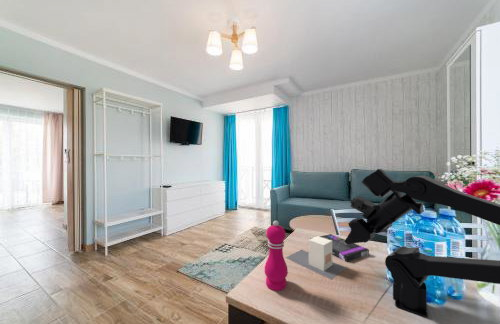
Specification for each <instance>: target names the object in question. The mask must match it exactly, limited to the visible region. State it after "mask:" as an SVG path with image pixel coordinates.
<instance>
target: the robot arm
mask: <svg viewBox="0 0 500 324" xmlns="http://www.w3.org/2000/svg"><path fill="white" fill-rule="evenodd" d="M361 184H362V185H363V186H364V187H365V188H367V190H369V192H370V193H371V194H373V195H374V196H375V197H376V198H379V197H381V198H382V199H384V198H385V199H384V200H383V201H382V202H379V203H378V204H375V203H374V202H372V201H370V200H368V199H366V198H364V197H362V196H359V195H358V196H354V197H353V198H352V200H351V201H350V207H351V209H355V210H356V211H358V212H360V213H362V217H363V218H362V217H355V218H353V219H351V221H349V222H348V223H347V225H348V227H349V228H350V231H349V233H348V235H347V237H346V238H345V239H344V240H345V243H346V244H353V243H354V244H359V243H360V244H361V243H362V244H363V243H368V242H369V241H371V240H372V239H374V238H375V237H376V234H380V233H383V232H384V231H387V230H389V229H390V228H391V227H392V226H393V224H394V223H396V222H397V221H398V220H400V218H403V216H405V215H407V214H408V213H409V212H410V211H412V210H413V211H414V212H415V213H416V214H417V215H421V214H422V213H424V212H425V210H424V204H425V202H426V203H430V204H436V205H441V206H446V207H450V208H451V209H456V210H457V211H460V212H463V213H466V214H468V215H471V216H473V217H474V216H475V217H476V218H479V219H482V220H485V221H487V222H490V223H491V224H492V223H493V224H495V225H499V226H500V204H499V203H497V202H494V201H491V200H487V199H483V198H481V197H478V196H475V195H472V194H469V193H465V192H463V191H459V190H457V189H455V188H452V187H451V186H449V185H448V184H445V183H443V182H441V181H439V180H436V179H435V178H432V177H431V176H427V175H417V176H416V175H415V176H411V177H408V178H407V179H406V180H394V179H393V178H392V177H391V176H389V175H388V174H387V173H386V172H385V171H384V169H382V168H378V169H376V170H375V171H373V172H371V173H370V174H369V175H366V176H365V177H364V178H363V180H362V181H361ZM417 200H418V201H417ZM419 201H422V202H419ZM384 264H385V267H386V269H387V270H388V271H389V273H390V275H391V277H392V280H393V281H392V299H393V300H394V306H395V307H397V308H400V309H401V310H405V311H407V312H411V313H414V314H416V315H419V316H422V317H425V318H429V313H428V307H427V306H428V301H427V300H428V299H427V296H428V294H427V293H428V290H427V285H426V280H427V279H428V278H429V276H434V277H441V278H442V277H443V278H449V279H457V280H465V281H472V282H473V281H474V282H481V283H488V284H497V285H500V260H498V259H497V260H496V259H495V260H494V259H482V258H481V259H480V258H469V257H468V258H465V257H453V256H452V257H451V256H450V257H449V256H438V255H437V256H435V255H427V254H425V253H421V251H420V247H418V246H415V247H413V246H412V247H407V246H403V245H402V246H400V247H399V248H397V249H395V250H393V251H392V252H391V253H389V255H387V256H386V257H385V261H384Z"/></svg>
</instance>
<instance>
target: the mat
mask: <svg viewBox="0 0 500 324" xmlns="http://www.w3.org/2000/svg"><path fill="white" fill-rule="evenodd" d="M285 259H287V260H289V261H291V262H293V263H296V264H298V265H300V266H302V267H303V268H306V269H308V270H310V271H312V272H315V273H317V274H319V275H321V276H324V278H325V277H326V278H328V279H329V280H333V279H334V278H335V277H337V276H338V275H339V274H341V273H342V272H343V271H344V270H345V269H347V266H345V265H341V264H339V263H337V262H334V261H332V266H330V267H329V268H328V269H326V270H325V271H322V270H320V269H318V268H316V267H314V266H311V265H309V251H306V250H304V249H300V250H298V251H296V252H294V253H292V254H290V255H287V256H285Z"/></svg>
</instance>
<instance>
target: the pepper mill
mask: <svg viewBox="0 0 500 324" xmlns="http://www.w3.org/2000/svg"><path fill="white" fill-rule="evenodd" d="M279 224H280V223H279V221H278V220H274V221H273V222H272V225H270V226H268V227H267V228H266V232H265V233H266V235H265V236H266V238H267V239H268V240H267V246H268V248H269V249H268V253H269V254H268V257H267V259H266V262H265V264H264V274H265V276H266V277H265V285H266V287H267V288H268V289H270V290H272V291H275V292H276V291H278V292H279V291H283V290H285V289H286V286H287V277H288V273H289V271H288V270H289V269H288V266H287V263H286V260H285V256H284V252H283V249H284V247H285V241H284V240H285V239H286V237H287V236H286V229H284V227H283V226H281V225H279Z"/></svg>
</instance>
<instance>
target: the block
mask: <svg viewBox="0 0 500 324" xmlns="http://www.w3.org/2000/svg"><path fill="white" fill-rule="evenodd" d="M308 252H309V265H311V266H314V267H316V268H318V269H320V270H322V271H325V270H326V269H328V268H329V267H330V266H332V262H333V255H332V240H328V239H325V238H322V237H320V236H318V235H317V236H314V237H312V239H310V238H309V239H308Z"/></svg>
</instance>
